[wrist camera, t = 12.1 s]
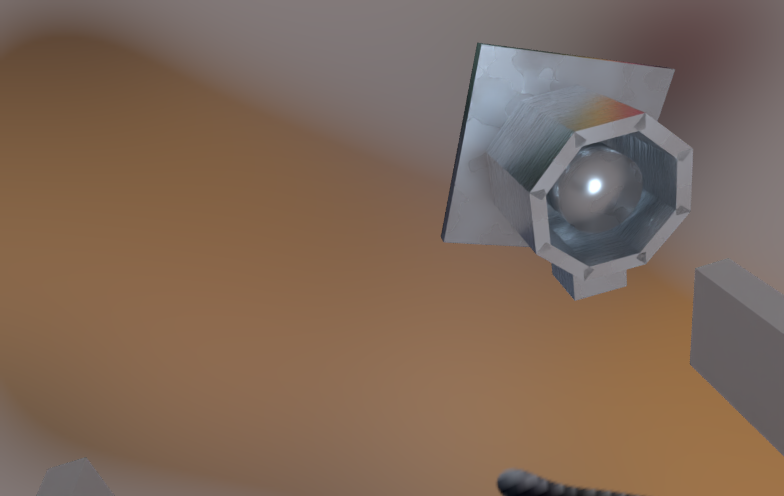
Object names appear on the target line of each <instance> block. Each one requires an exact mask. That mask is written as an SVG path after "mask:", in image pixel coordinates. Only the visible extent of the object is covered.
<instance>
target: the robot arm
mask: <svg viewBox="0 0 784 496" xmlns="http://www.w3.org/2000/svg"><path fill="white" fill-rule="evenodd" d="M690 365H691V366H692V367H693V368H694V369H695V370H696V371H697V372H698V373H699V374H700V375H701V376H702V377H703V378H704V379H706V380H707V381H708V382H709V383H710V384H711V385H712V386H713V387H714V388H715V389H716V390H717V391H718V392H719V393H720V394H721V395H722V396H723V397H724V398H725V399H726V400H727V401H728V402H729V403H730V404H731V405H732V406H733V407H734V408H735V409H736V410H737V411H738V412H739V413H740V414H741V415H742V416H743V417H745V419H746V420H747V421H748V422H750V424H752V426H754V427H755V428H756V429H757V430H758V431H759V432H760V433H761V434H762V435H763V436H764V437H765V438H766V439H767V440H768V441H769V442H770V443H771V444H772V445H773V446H774V447H775V448H776V449H777V450H778V451H779V452H780V453H781V454H782V455H783V456H784V295H783V294H781V293H780V292H779V291H777V290H775V289H774V288H773V287H771V286H769V285H768V284H766V283H765V282H763V281H762V280H761V279H759V278H758V277H756V276H754V275H753V274H751V273H750V272H749V271H747V270H745V269H744V268H742V267H741V266H739V265H738V264H736V263H735V262H733V261H732V260H730V259H729V258H727V259H724V260H721V261H718V262H714V263H712V264H708V265H705V266H701V267H698V268H695V283H694V300H693V318H692V336H691V353H690ZM36 496H115V495H114V494H113V493H112V491H111V490H110V489H109V487H108V486H107V485H106V483H105V482H104V481H103V479H102V478H101V477H100V475H99V474H98V472H97V471H96V470H95V468H94V467H93V466H92V465H91V463H90V462H89V461H88V459H87V458H86V457H85V458H82V459H78V460H75V461H72V462H69V463H66V464H62V465H59V466H56V467H53V468H49V469H48V470H47V472H46V475H45V477H44V479H43V482H42V484H41V486H40V488H39V491H38V493H37V495H36Z"/></svg>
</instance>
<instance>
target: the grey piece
mask: <svg viewBox="0 0 784 496" xmlns="http://www.w3.org/2000/svg"><path fill="white" fill-rule="evenodd" d="M607 139H608V146H609V147H611V148H613V149H614V150H616V151H618V152H620V153H621V154H623V155H625V156H627V157H628V158H630V159H631V160H633V161H634V162H635V163H636V165H637V166H638V168H639V169H640V172H641V175H642V180H643V188H642V194H641V197H640V200H639V202H638V204H637V206H636V208H635V209H634V211H633V212H632V213H631V214H630V216H629V217H628V218H627V219H626V220H625V221H623V222H622V223H621V224H619V225H618V226H616V227H614V228H612V229H610V230H607V231H604V232H600V233H586V232H582V231H579V230H577V229H576V228H574V227H573V226H572V225H570V224H569V223H568V222H567V221H566V220H565V219H564V218H563V217H562V216H561V215H560V214H559V213H558V212H557V211H552V212H547V202H546V194H547V193H548V191H549V190H550V189H551V187H552V186H553V185H554V183H555V182H556V181H557V179H558V178H559V177H560V175H561V174H562V173H563V171H564V170H565V169H566V167H567V166H568V165H569V163H570V162H571V161H572V159H573V158H574V157H575V155H576V154H577V153H578V151H579V150H580V149H581V147H582V146H585V145H589V144H592V143H596V142H600V141H603V140H607ZM486 156H487V163H488V170H489V177H490V184H491V191H492V197H493V204H494V205H495V206H496V207H497V208H498V210H499V211H500V212H501V213H502V214H503V215H504V217H505V218H506V219H507V220H508V221H509V223H510V224H511V225H512V226H513V227H514V229H515V230H516V231H517V232H518V233H519V234H520V236H521V237H522V238H523V239H524V240H525V242H526V243H527V244H528V245H529V246H530V247H531V248H532V250H533V251H534V252H535V253H536V254H537V255H539V256H540V257H542V258H544V259H546V260H548V261H549V262H551V263H552V273H553V275H554V276H555V278H556V279H557V280H558V281H559V282H560V283H561V284H562V286H563V287H564V288H565V289H566V291H567V292H568V293H569V294H570V295H571V296H572V298H573V299H574V300H579V299H582V298H586V297H589V296H593V295H596V294H600V293H604V292H607V291H611V290H614V289H618V288H621V287H625V286H627V281H626V280H627V279H626V269H630V268H633V267H637V266H640V265H644V264H646V263H647V262H648V261H649V260H650V258H651V257H652V256H653V255H654V254H655V253H656V251H657V250H658V249H659V248H660V247H661V245H662V244H663V243H664V242H665V241H666V240H667V239H668V237H669V236H670V235H671V234H672V233H673V232H674V230H675V229H676V228H677V227H678V226H679V224H680V223H681V222H682V221H683V220H684V219H685V217H686V216H687V215H688V214H689V213H690V211H691V186H692V161H693V148H691V147H690V146H689V145H687V144H686V143H685V142H683V141H682V140H681V139H680V138H678V137H677V136H675V135H674V134H673V133H671V132H670V131H669V130H667V129H666V128H665V127H664V126H662V125H661V124H659V123H658V122H657V121H656V120H654V119H653V118H652V117H650V116H649V115H648V114H646V113H645V112H643V111H640V110H638V109H635V108H633V107H631V106H628V105H626V104H623V103H621V102H618V101H616V100H614V99H611V98H609V97H606V96H604V95H602V94H599V93H597V92H594V91H592V90H590V89H587V88H585V87H582V86H580V85H576V86H572V87H568V88H564V89H561V90H557V91H553V92H549V93H546V94H542V95H538V96H534V97H531V98H527V99H523V100H520V102H519V103H518V105H517V106H516V108H515V109H514V111H513V112H512V114H511V115H510V116H509V118H508V119H507V121H506V122H505V124H504V125H503V127H502V128H501V130H500V131H499V133H498V134H497V135H496V137H495V138H494V140H493V141H492V143H491V144H490V146H489V147H488V149H487V150H486Z"/></svg>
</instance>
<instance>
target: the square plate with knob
mask: <svg viewBox="0 0 784 496" xmlns="http://www.w3.org/2000/svg"><path fill="white" fill-rule="evenodd" d="M674 71H675V69H671V68H667V67H661V66H653V65H645V64H638V63H630V62H622V61H614V60H607V59H599V58H591V57H583V56H576V55H568V54H560V53H553V52H545V51H537V50H530V49H522V48H514V47H507V46H499V45H491V44H483V43H477V47H476V53H475V58H474V64H473V69H472V74H471V79H470V85H469V90H468V95H467V101H466V106H465V111H464V117H463V122H462V128H461V132H460V138H459V143H458V148H457V154H456V159H455V164H454V170H453V176H452V180H451V186H450V191H449V197H448V202H447V207H446V212H445V218H444V223H443V228H442V234H441V238H442V240H443V242H449V243H467V244H485V245H504V246H523V247H530V246H529V245H528V244H527V243H526V242H525V240H524V239H523V238H522V237H521V236H520V234H519V233H518V232H517V231H516V230H515V229H514V227H513V226H512V225H511V224H510V223H509V221H508V220H507V219H506V218H505V217H504V215H503V214H502V213H501V212H500V211H499V210H498V208H497V207H496V206H495V205H494V204H493V197H492V191H491V184H490V177H489V170H488V163H487V156H486V150H487V149H488V147H489V146H490V144H491V143H492V141H493V140H494V138H495V137H496V135H497V134H498V133H499V131H500V130H501V128H502V127H503V125H504V124H505V122H506V121H507V119H508V118H509V116H510V115H511V114H512V112H513V111H514V109H515V108H516V106H517V105H518V103H519V102H520V100H523V99H527V98H531V97H534V96H538V95H542V94H546V93H549V92H553V91H557V90H561V89H564V88H568V87H572V86H576V85H580V86H582V87H585V88H587V89H590V90H592V91H594V92H597V93H599V94H602V95H604V96H606V97H609V98H611V99H614V100H616V101H618V102H621V103H623V104H626V105H628V106H631V107H633V108H635V109H638V110H640V111H643V112H645V113H646V114H648V115H649V116H650V117H652V118H653V119H654V120H656V121H658V118H659V115H660V112H661V109H662V106H663V103H664V100H665V97H666V95H667V92H668V89H669V86H670V83H671V80H672V77H673V74H674ZM642 188H643V180H642V175H641V172H640V169H639V168H638V166H637V165H636V163H635V162H634V161H633V160H631V159H630V158H628V157H627V156H625V155H623V154H621V153H620V152H618V151H616V150H614V149H613V148H611V147H609V146H608V139H607V140H603V141H600V142H596V143H592V144H589V145H585V146H582V147H581V149H580V150H579V151H578V153H577V154H576V155H575V157H574V158H573V159H572V161H571V162H570V163H569V165H568V166H567V167H566V169H565V170H564V171H563V173H562V174H561V175H560V177H559V178H558V179H557V181H556V182H555V183H554V185H553V186H552V187H551V189H550V190H549V191H548V193H547V194H546V202H547V212H552V211H557V212H558V213H559V214H560V215H561V216H562V217H563V218H564V219H565V220H566V221H567V222H568V223H569V224H570V225H572V226H573V227H574V228H576V229H577V230H579V231H582V232H586V233H600V232H604V231H607V230H610V229H612V228H614V227H616V226H618V225H619V224H621V223H622V222H623V221H625V220H626V219H627V218H628V217H629V216H630V214H631V213H632V212H633V211H634V209H635V208H636V206H637V204H638V202H639V200H640V197H641V194H642Z"/></svg>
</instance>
